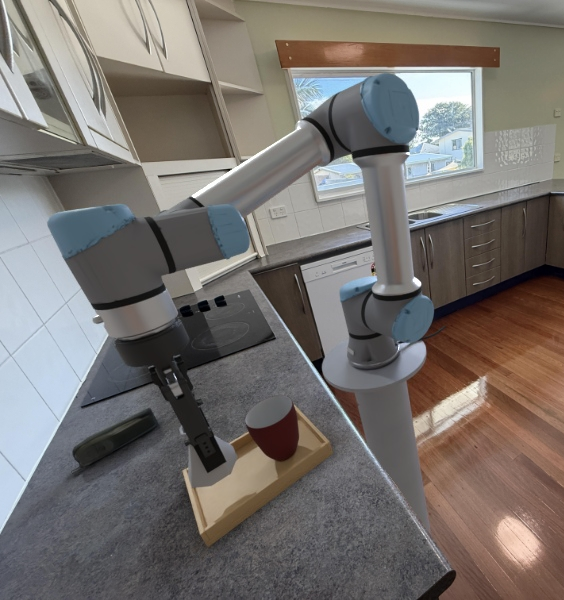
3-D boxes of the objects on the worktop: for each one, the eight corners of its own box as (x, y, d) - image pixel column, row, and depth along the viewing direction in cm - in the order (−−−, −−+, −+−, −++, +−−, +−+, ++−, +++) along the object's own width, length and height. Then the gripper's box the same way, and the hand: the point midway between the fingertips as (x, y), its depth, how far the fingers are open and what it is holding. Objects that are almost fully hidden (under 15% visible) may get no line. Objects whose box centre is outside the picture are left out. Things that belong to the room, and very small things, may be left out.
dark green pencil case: (148, 404, 71) (57, 451, 61) (152, 409, 70) (60, 458, 59) (157, 421, 73) (70, 469, 63) (161, 426, 72) (73, 476, 61)
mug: (246, 454, 59) (227, 414, 55) (282, 425, 65) (267, 386, 61) (280, 479, 53) (261, 435, 49) (316, 444, 59) (302, 403, 55)
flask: (238, 440, 55) (220, 400, 50) (237, 477, 49) (216, 435, 44) (192, 456, 53) (168, 415, 48) (184, 497, 47) (156, 455, 42)
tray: (297, 414, 68) (294, 404, 67) (333, 453, 57) (329, 441, 56) (188, 482, 56) (182, 470, 55) (208, 547, 45) (200, 534, 44)
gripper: (110, 320, 46) (175, 437, 55) (111, 366, 32) (197, 512, 41) (169, 302, 50) (221, 413, 59) (192, 336, 37) (254, 473, 46)
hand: (211, 453), depth 50 cm, fingers open, 6 cm apart
